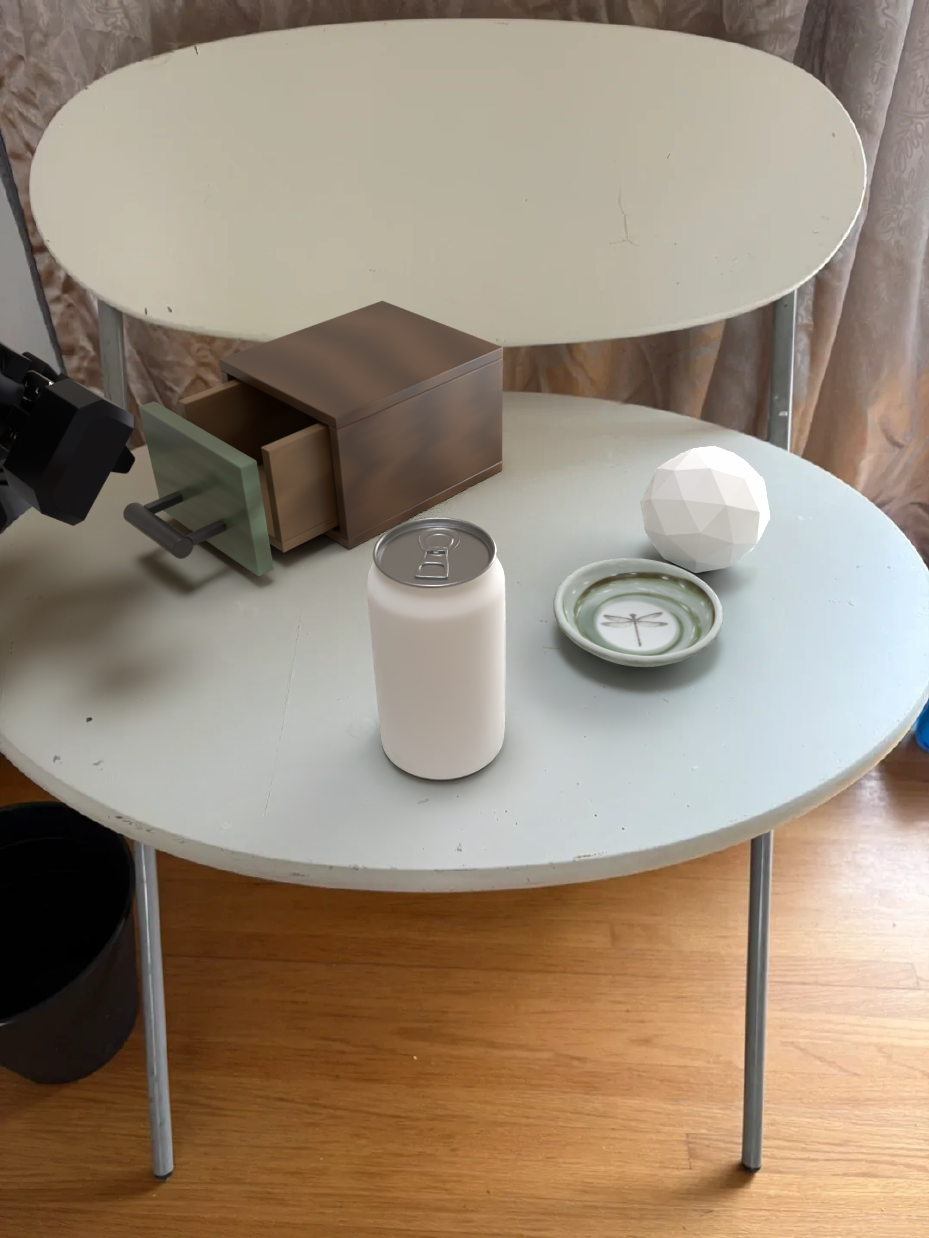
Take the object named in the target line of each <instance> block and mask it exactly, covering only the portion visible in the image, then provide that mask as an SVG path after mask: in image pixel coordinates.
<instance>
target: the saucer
mask: <svg viewBox="0 0 929 1238" xmlns="http://www.w3.org/2000/svg"><path fill="white" fill-rule="evenodd" d="M552 609H553V615H554V619H555V621H556V624H557V626H559V628H560V630H561V631H562V633H563V634H564V635H565V636H566V637H567V638H568V639H569V640H570V641H571V642H573V643H574V644H575V645H577V646H578V647H579V648H581V649H583V650H585V651H586V652H588V653H590V654H592V655H594V656H595V657H598V658H600V659H602V660H604V661H607V662H610V663H614V664H618V665H623V666H627V667H637V668H652V667H653V668H655V667H661V666H667V665H671V664H675V663H679V662H683V661H685V660H689V659H691V658H693V657H695V656H698V655H699V654H701V653H702V652H704V651H705V650H706V649H708V648H709V647H710V646H711V645H712V644H713V643H714V642H715V641H716V639H717V638H718V636H719V634H720V632H721V630H722V627H723V624H724V610H723V606H722V603H721V601H720V599H719V597H718V596H717V594H716V592H715V591H714V590H713V589H712V588H711V587H710V586H709V585H708V584H707V583H706V582H705V581H704V580H702V579H701V578H700V577H698V576H696V575H695V574H693V572H690V571H689V570H687V569H685V568H682V567H680V566H677V565H673V564H670V563H667V562H664V561H659V560H654V559H647V558H640V557H618V558H616V557H615V558H608V559H603V560H599V561H595V562H592V563H589V564H586V565H584V566H582V567H580V568H577V569H576V570H574V571H572V572H571V573H570V574H569V575H567V576H566V577H565V578H564V579H563V580H562V582H560V584H559V585H558V587H557V588H556V591H555V592H554V597H553V602H552Z"/></svg>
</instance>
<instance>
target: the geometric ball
mask: <svg viewBox="0 0 929 1238" xmlns="http://www.w3.org/2000/svg"><path fill="white" fill-rule="evenodd" d="M640 508H641V514H642V521H643V527H644V531H645V534H646V535H647V538H648V540H649V541H650V542H651V543H652V545H653V546H654V547H655V549H656V550H657V552H658V553H659V554H660V556H661V557H662V559H664V560H666V561H668V562H670V563H673V564H674V565H675V566H678V567H680V568H682V569H684V570H686V571H688V572H691V573H694V574H697V573H703V572H704V573H705V572H709V571H716V570H721V569H728V568H730V567H732V566H733V565H735V564H737V563H738V562H739V561H740V560H742V559H743V558H745V557H746V556H747V555H748V554H750V553H752V552H753V550H754V549H755V548H756V546H757V545H758V543H759V541H760V540H761V537H762V536H763V534H764V531H765V529H766V528H767V525H768V523H769V522H770V520H771V513H770V512H771V511H770V507H769V501H768V496H767V490H766V484H765V479H764V478H763V477H762V476H760V474H759V473H758V472H757V471H756V470H755V469H754V468H753V467H752V466H751V465H750V464H749V463H748V462H747V461H746V460H745V459H743V458H742V457H740V456H739V455H737V454H735V452H732V451H729V450H727V449H723V448H721V447H718V446H715V445H712V446H704V447H703V446H702V447H695V448H690V449H689V450H686V451H683V452H681V453H679V454H678V455H676V456H674V457H672V458H671V459H669V460H668V461H666V462H664V463H663V464H661V465H659V466H658V467H656V469H655V471H654V472H653V475H652V477H651V479H650V481H649V483H648V485H647V486H646V489H645V491H644V493H643V495H642V498H641V499H640Z"/></svg>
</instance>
